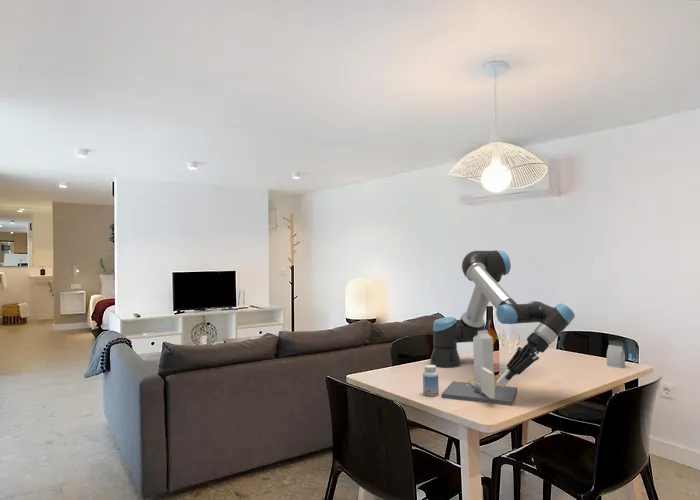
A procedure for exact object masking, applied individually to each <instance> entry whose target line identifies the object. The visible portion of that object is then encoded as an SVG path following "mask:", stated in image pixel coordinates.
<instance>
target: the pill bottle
mask: <svg viewBox="0 0 700 500" xmlns="http://www.w3.org/2000/svg"><path fill="white" fill-rule="evenodd" d="M423 367H424V371H423V372H422V390H423V391H422V392H423V395H425V396H428V397H435V396H439V393H440V392H439V391H440V390H439V389H440V388H439V387H440V386H439V373H438V372H437V366H435V365H431V364H426V365H424V366H423Z"/></svg>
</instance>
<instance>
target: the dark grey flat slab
mask: <svg viewBox="0 0 700 500" xmlns="http://www.w3.org/2000/svg"><path fill="white" fill-rule="evenodd" d="M472 383H473V384H474V383H475V382H472ZM494 388H495V398H489V397H488V396H487V395H486V394H481V393H480V392H475V391H474V386H472V385H471V384H470V383H469V382H465V381H454V380H452V381H451V383H450V384H449V385H448V386H447V387H446V388H445V389H444V390H443V391H442V392H441V399H442V398H443V399H450V400H458V401H468V402H475V403H476V402H477V403H487V404H494V405H495V404H497V405H503V406H504V405H505V406H513V404H514V401H515V398H516V396H517V392H518V387H516V386H507V385H505V386H504V387H501V386H500V385H498V384H497V385H495V384H494Z"/></svg>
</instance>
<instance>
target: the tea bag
mask: <svg viewBox="0 0 700 500" xmlns="http://www.w3.org/2000/svg"><path fill="white" fill-rule="evenodd" d="M606 366H607V367H613V368H618V369H624V368H626V355H625V352H624V348H623V346H618V345H612V344H608V346H607V350H606Z"/></svg>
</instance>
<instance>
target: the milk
mask: <svg viewBox="0 0 700 500" xmlns="http://www.w3.org/2000/svg"><path fill="white" fill-rule="evenodd" d="M493 339H494V338H493V337H492V336H491V335H490V334H489V330H488V329H485V330H482V331H478V335H476V336H475V337H473V342H472V343H473V347H472V348H473V380H474V381H476V382H481V368H486V369H488V370H490V371H491V372H493V373H494V340H493ZM494 374H495V373H494Z"/></svg>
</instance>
